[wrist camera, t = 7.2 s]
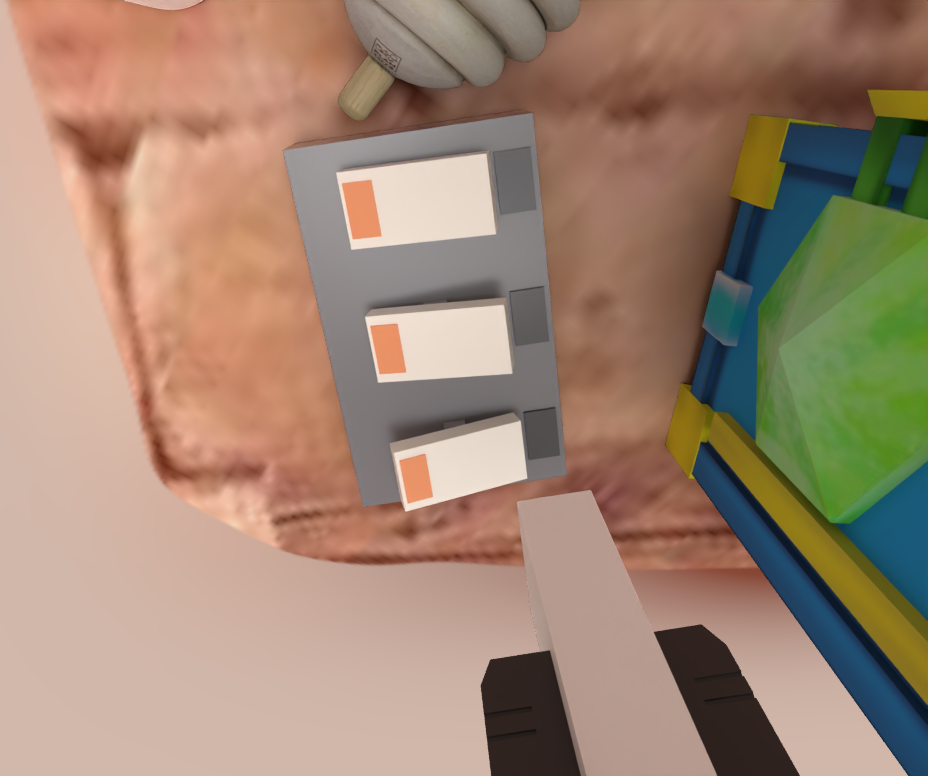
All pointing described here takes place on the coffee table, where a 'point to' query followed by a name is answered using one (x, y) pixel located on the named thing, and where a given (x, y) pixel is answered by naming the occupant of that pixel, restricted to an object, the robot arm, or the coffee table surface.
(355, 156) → the rocker switch panel
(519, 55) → the grey ribbed rounded piece
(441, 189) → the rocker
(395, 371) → the rocker
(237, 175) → the coffee table surface
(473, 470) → the small box
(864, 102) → the coffee table surface
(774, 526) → the decorative book
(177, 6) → the can
